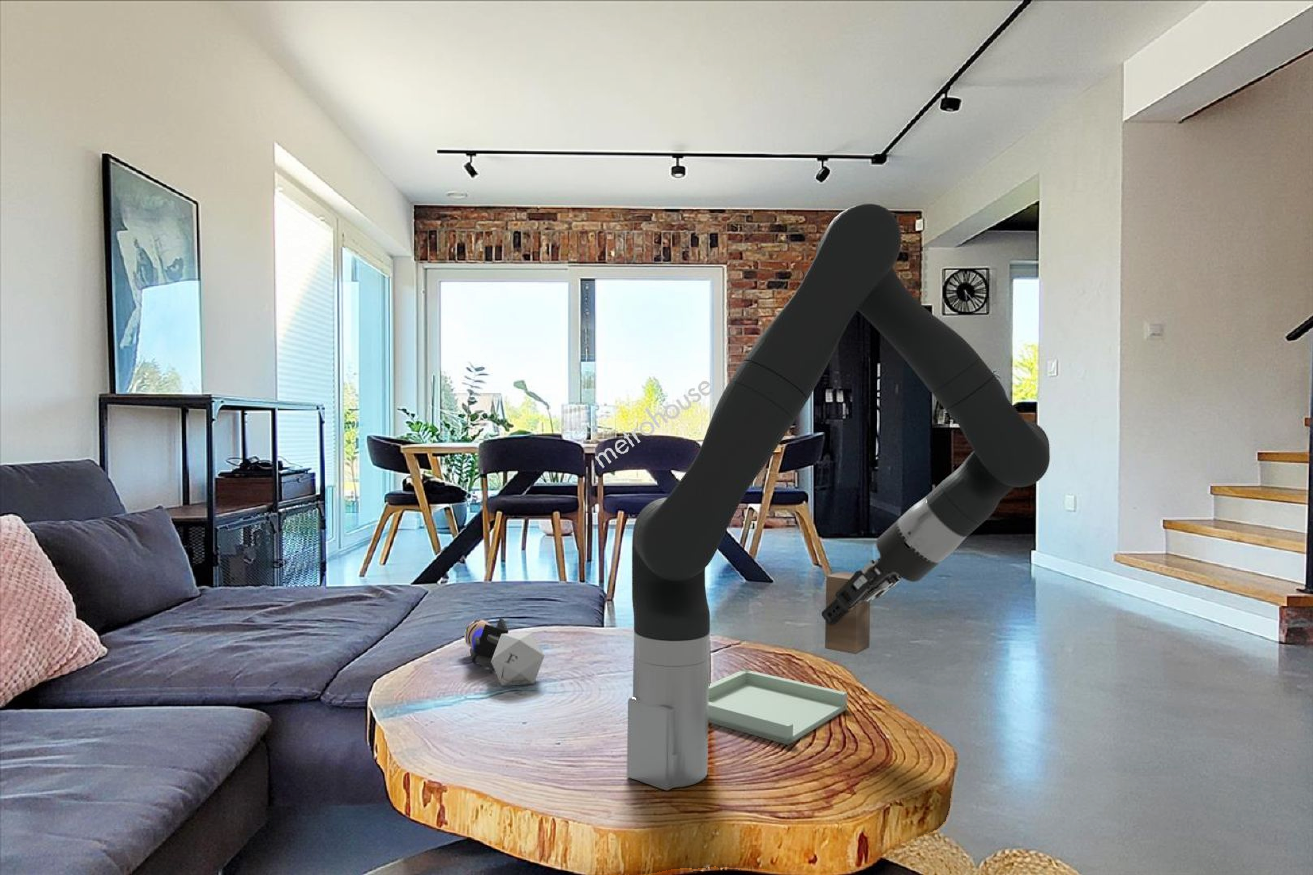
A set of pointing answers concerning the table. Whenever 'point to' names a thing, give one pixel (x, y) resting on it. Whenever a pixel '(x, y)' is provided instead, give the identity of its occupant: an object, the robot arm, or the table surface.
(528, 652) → the die
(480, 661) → the character figurine
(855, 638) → the block
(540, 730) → the table surface
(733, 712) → the tray
